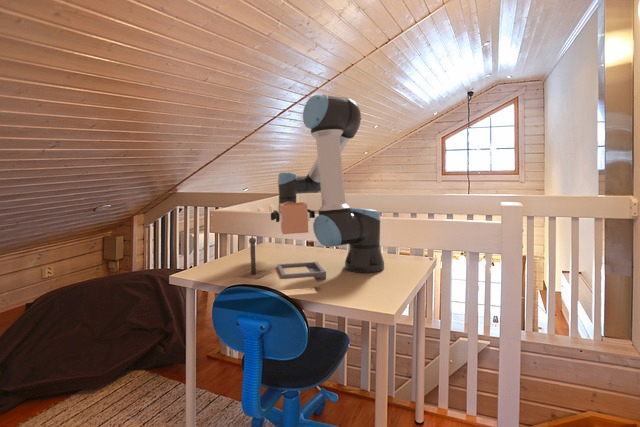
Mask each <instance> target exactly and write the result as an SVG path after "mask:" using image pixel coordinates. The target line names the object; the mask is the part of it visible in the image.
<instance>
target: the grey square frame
mask: <svg viewBox="0 0 640 427" xmlns="http://www.w3.org/2000/svg"><path fill="white" fill-rule="evenodd" d="M276 266H277V270H278V271H279V272H278V273H279V274H280V276H281V279H288V278H289V279H290V278H301V277H302V278H303V277H313V278H314V280H316V281H317V280H327V271H326V270H325V269H324V267H322V266H321V264H320V263H319V262H318V261H310V262H309V261H308V262H307V261H306V262H294V263H292V262H291V263H278V264H276ZM293 267H306V269H307V270H308V272H307V271H306V272H296V273H295V272H294V273H285V271H284V268H293Z"/></svg>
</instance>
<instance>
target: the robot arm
mask: <svg viewBox="0 0 640 427" xmlns="http://www.w3.org/2000/svg"><path fill="white" fill-rule="evenodd" d="M361 113H362V112H361V110H360V108H359V105H358V104H357V103H356V102H355V101H354V100H352V99H351V98H348V97H341V96H332V95H326V94H321V95H320V94H314V95H312V96H310V98H308V100H306V103H305V105H304V107H303V112H302V120H303V121H302V122H303V124H304V126H305V127H306V128H308V129H310V135H311V137H313V138H314V139H315V144H316V154H317V157H316V159H315V161H314V163H313V165H312V166H311V168H310V169H309V171H308V173H307V175H304V176H299V175H297V174H296V172H294V171H293V172H279V173H278V176H277V177H278V179H277V185H278V210H275V209H274V210H273V211H272V212H271V213H270V221H274V220H275V222H276V223H279V222H280V224H281V223H282V214H281V213H280V204H282V203H297V195H300V194H301V195H302V194H318V193H320V194H321V196H320V197H321V198H320V199H321V206H320V208H319V209H318V215H317V216H316V213H315V210H311V209H309V208H307V211H308V213H307V216H308V222H310V221H311V220H310V219H314V220H313V221H314V222H313V223H312V226H313V227H312V228H313V233H314V235H315V238H316V240H317V242H319V243H320V244H321V245H322V246H323V247H327V248H331V247H332V248H333V247H335V248H337V247H339V246H345V245H349V248H348V251H347V255H346V258H345V260H344V268H345V270H347V271H350V272H353V273H361V274H362V273H365V274H367V273H377V272H378V273H379V272H381V271H383V270H384V269H385V260H384V258H383V255H382V254H383V253H382V252H381V247H380V246H381V244H380V243H381V218H380V217H381V215H380V214H381V213H380V212H379V211H378V210H377V209H370V208H363V207H362V208H361V207H351V206H350V205H349V204H347V203H346V202H347V201H346V192H345V191H346V190H345V181H344V172H343V171H344V170H343V160H342V158H343V157H342V152H343V150H344V149H345V146H346V145H347V144H348V142H349V141H350V140H351V139H352V140H353V138H354V137H355V135H357V132H358V131H359V128H360V125H361V122H362V121H361V120H362V114H361Z"/></svg>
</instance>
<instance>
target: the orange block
mask: <svg viewBox="0 0 640 427" xmlns="http://www.w3.org/2000/svg"><path fill="white" fill-rule="evenodd" d="M307 209H308V204H307V203H306V202H304V201H302V202H296V203H282V204H280V213H281V214H282V223H280V230H281V233H282V235H292V234H305V233H308V234H309V221H308V216H307V213H308V211H307Z"/></svg>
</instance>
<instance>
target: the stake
mask: <svg viewBox="0 0 640 427" xmlns="http://www.w3.org/2000/svg"><path fill="white" fill-rule="evenodd" d="M248 242H249V244H250V269H246V270H244V271H242V272H240V273H238V274H235V275H234V276H233V277H235V278H244V279H253V280H260V279H262V278H264V277H265V276H268V275H269V274H271V273H273V271H268V270H259V269H256V268H257V265H256V264H257V263H256V261H257V260H256V242H257V239H256V238H255V237H250V238H249V239H248Z"/></svg>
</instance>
